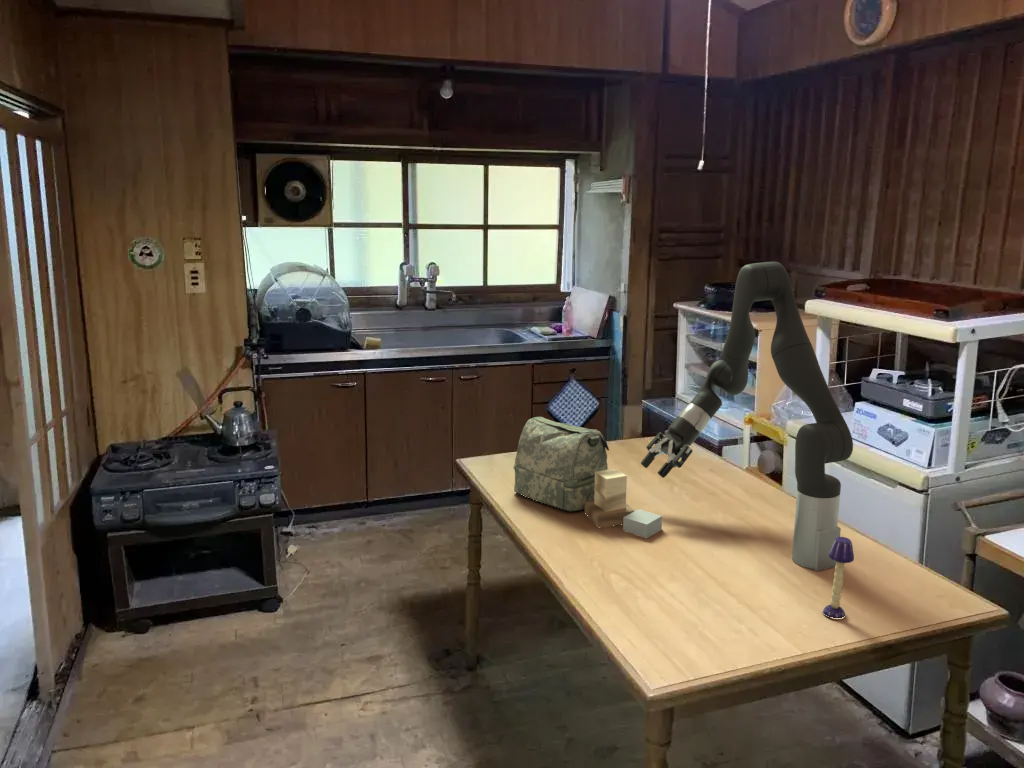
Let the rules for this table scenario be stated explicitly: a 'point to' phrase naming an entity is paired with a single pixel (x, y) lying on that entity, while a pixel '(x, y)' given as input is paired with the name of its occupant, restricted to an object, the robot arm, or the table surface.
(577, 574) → the table surface
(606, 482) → the oak block
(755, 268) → the robot arm
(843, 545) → the toy lamp
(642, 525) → the grey block
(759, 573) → the table surface
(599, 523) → the walnut block
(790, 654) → the table surface
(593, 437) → the lunch bag
